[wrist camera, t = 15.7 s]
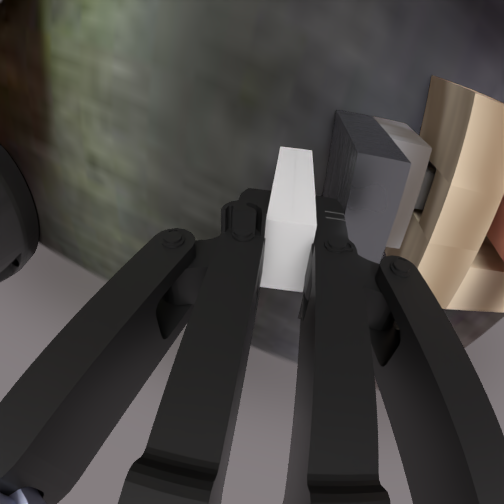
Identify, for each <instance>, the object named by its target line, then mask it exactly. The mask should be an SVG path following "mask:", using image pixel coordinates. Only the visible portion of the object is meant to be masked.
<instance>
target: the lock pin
mask: <svg viewBox="0 0 504 504" xmlns="http://www.w3.org/2000/svg"><path fill="white" fill-rule="evenodd" d="M410 167H411V162H410V161H409V160H408V158H407V157H406V156H405V154H404V153H403V152H402V151H401V149H400V148H399V147H398V146H397V145H396V143H395V142H394V141H393V140H392V139H391V137H390V136H389V135H388V134H387V133H386V131H385V130H384V129H383V128H382V127H381V126H380V125H379V123H378V122H377V121H376V120H375V119H374V118H373V117H372V116H368V115H363V114H357V113H352V112H346V111H340V110H336V116H335V123H334V129H333V136H332V142H331V149H330V155H329V161H328V167H327V173H326V179H325V185H324V190H323V196H322V197H328V198H335V199H337V200H338V201H339V202H340V204H341V205H342V206H343V211H344V216H345V221H346V226H347V232H348V238H349V240H350V241H351V242H352V243H354V244H355V247H356V249H357V253H358V255H360V256H361V257H363V258H365V259H367V260H370V261H373V262H375V263H378V264H379V263H380V261H381V258H382V255H383V252H384V250H385V247H386V244H387V241H388V238H389V235H390V232H391V229H392V226H393V223H394V220H395V217H396V214H397V211H398V208H399V205H400V201H401V198H402V195H403V192H404V188H405V185H406V181H407V178H408V174H409V171H410ZM436 169H437V168H436V167H435V166H434V165H433V164H432V163H431V162H430V161H429V162H428V165H427V169H426V172H425V176H424V179H423V182H422V186H421V189H420V192H419V195H418V198H417V201H416V204H415V207H414V208H415V209H420V210H423V209H424V207H425V204H426V201H427V198H428V195H429V192H430V189H431V186H432V182H433V179H434V176H435V173H436Z"/></svg>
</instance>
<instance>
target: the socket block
mask: <svg viewBox="0 0 504 504" xmlns="http://www.w3.org/2000/svg"><path fill="white" fill-rule="evenodd" d="M372 117H373V118H374V119H375V120H376V121H377V122H378V123H379V125H380V126H381V127H382V128H383V129H384V130H385V131H386V133H387V134H388V135H389V136H390V137H391V139H392V140H393V141H394V142H395V143H396V145H397V146H398V147H399V148H400V149H401V151H402V152H403V153H404V154H405V156H406V157H407V158H408V160H409V161H410V162H411V167H410V171H409V174H408V178H407V181H406V185H405V188H404V192H403V195H402V198H401V201H400V205H399V208H398V211H397V214H396V217H395V220H394V223H393V226H392V229H391V232H390V235H389V238H388V241H387V244H386V249H385V254H386V256H391V255H393V256H400V257H402V258H405V259H407V260H409V261H410V262H412V263H413V264H414V265H415V266H416V267H417V269H418V270H419V272H420V273H421V275H422V276H423V278H424V280H425V281H426V283H427V284H428V286H429V288H430V289H431V291H432V292H433V294H434V296H435V297H436V299H437V301H438V302H439V304H440V306H441V307H442V309H455V310H470V311H487V312H504V262H503V260H502V258H501V257H500V255H499V254H498V252H497V251H496V249H495V247H494V246H493V244H492V243H491V241H490V240H489V238H488V237H487V235H486V234H487V232H488V230H489V228H490V226H491V223H492V221H493V219H494V216H495V214H496V212H497V209H498V207H499V205H500V202H501V200H502V197H503V195H504V103H502V102H500V101H498V100H495V99H493V98H491V97H489V96H486V95H484V94H482V93H479V92H477V91H474V90H472V89H469V88H467V87H464V86H461V85H459V84H456V83H453V82H451V81H448V80H445V79H442V78H439V77H436V76H433V75H432V76H431V82H430V87H429V93H428V98H427V103H426V108H425V113H424V117H423V122H422V126H421V131H420V135H418V134H417V133H416V132H414V131H413V130H412V129H411V128H410V127H409V126H408V125H407V124H406V123H401V122H397V121H393V120H388V119H384V118H379V117H374V116H372ZM429 161H430V162H431V163H432V164H433V165H434V166H435V167H436V168H437V169H436V173H435V176H434V179H433V182H432V186H431V189H430V192H429V195H428V198H427V201H426V204H425V207H424V209H423V210H420V209H415V208H414V207H415V204H416V201H417V198H418V195H419V192H420V189H421V186H422V182H423V179H424V176H425V172H426V169H427V165H428V162H429Z"/></svg>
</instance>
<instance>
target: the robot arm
mask: <svg viewBox="0 0 504 504" xmlns="http://www.w3.org/2000/svg"><path fill="white" fill-rule="evenodd" d="M38 240H39V226H38V219H37V214H36V210H35V206H34V203H33V200H32V197H31V194H30V192H29V189H28V187H27V185H26V182H25V180H24V178H23V176H22V174H21V173H20V171H19V169H18V167H17V166H16V164H15V163H14V161H13V160H12V158H11V157H10V155H9V154H8V153H7V152H6V150H5V149H4V148H3V147H2V146H1V145H0V282H2V281H3V280H5V279H7V278H8V277H10V276H12V275H13V274H15V273H16V272H18V271H19V270H20V269H22V267H23V266H24V265H25V264H26V263H27V261H28V260H29V259H30V258H31V257H32V256H33V254H34V253H35V251H36V249H37V245H38ZM260 287H265V288H273V289H281V290H288V291H296V292H303V289H304V295H303V299H302V304H301V308H300V312H299V316H298V318H299V319H301V323H300V340H299V355H298V369H297V382H296V395H295V406H294V418H293V427H292V438H291V447H290V456H289V464H288V473H287V481H286V489H285V496H284V501H283V504H390V498H389V495H388V492H387V491H386V490H385V489H384V488H383V487H382V486H381V484H380V481H379V474H378V425H377V406H376V391H375V379H374V375H375V378H376V381H377V384H378V387H379V390H380V393H381V395H382V399H383V402H384V405H385V408H386V411H387V414H388V417H389V420H390V423H391V427H392V430H393V433H394V436H395V440H396V443H397V446H398V450H399V453H400V456H401V460H402V463H403V467H404V471H405V474H406V478H407V481H408V485H409V489H410V493H411V497H412V501H413V504H504V436H503V433H502V430H501V428H500V425H499V423H498V420H497V418H496V415H495V413H494V410H493V408H492V406H491V403H490V401H489V399H488V397H487V394H486V392H485V390H484V388H483V385H482V383H481V381H480V379H479V377H478V375H477V373H476V371H475V369H474V367H473V365H472V363H471V361H470V359H469V357H468V355H467V353H466V351H465V349H464V347H463V345H462V343H461V341H460V339H459V338H458V336H457V334H456V332H455V330H454V328H453V327H452V325H451V323H450V321H449V320H448V318H447V316H446V314H445V313H444V311H443V309H442V307H441V306H440V304H439V302H438V301H437V299H436V297H435V296H434V294H433V292H432V291H431V289H430V288H429V286H428V284H427V283H426V281H425V280H424V278H423V276H422V275H421V273H420V272H419V270H418V269H417V267H416V266H415V265H414V264H413V263H412V262H410V261H409V260H407V259H405V258H402V257H400V256H393V255H391V256H386V257H384V258H383V259H382V260H381V262H380V264H378V263H375V262H373V261H370V260H367V259H365V258H363V257H361V256H360V255H358V253H357V249H356V247H355V244H354V243H352V242H351V241H350V240H349V238H348V232H347V226H346V221H345V216H344V211H343V206H342V205H341V204H340V202H339V201H338V200H337V199H335V198H328V197H321V196H315V184H314V170H313V157H312V150H304V149H297V148H289V147H280V152H279V157H278V162H277V167H276V172H275V177H274V182H273V187H272V191H268V190H260V189H251V188H248V189H247V190H245V191H244V192H243V193H241V195H240V198H239V200H237V201H232V202H229V203H227V204H225V205H224V206H223V207H222V209H221V234H220V236H219V237H216V238H213V239H208V240H198V241H195V237H194V235H193V234H192V233H191V232H189V231H187V230H185V229H178V228H174V229H168V230H164V231H161V232H160V233H158V234H157V235H155V236H154V237H153V238H152V239H151V240H150V241H149V242H148V243H147V244H146V245H145V246H144V247H143V248H142V249H141V250H139V251H138V252H137V253H136V254H135V255H134V256H133V257H132V258H131V259H130V260H129V261H128V262H127V263H126V264H125V265H124V266H123V267H122V268H121V269H120V270H119V271H118V272H117V273H116V274H115V275H114V276H113V277H112V278H111V279H110V280H109V281H108V282H107V283H106V284H105V285H104V286H103V287H102V288H101V289H100V290H99V291H98V292H97V293H96V294H95V295H94V296H93V297H92V298H91V299H90V300H89V301H88V302H87V303H86V304H85V306H84V307H83V308H82V309H81V310H80V311H79V312H78V313H77V314H76V315H75V316H74V317H73V318H72V319H71V320H70V322H69V323H68V324H67V325H66V326H65V327H64V328H63V329H62V330H61V331H60V333H58V335H57V336H56V337H55V338H54V339H53V340H52V341H51V342H50V344H49V345H48V346H47V347H46V348H45V349H44V350H43V352H42V353H41V354H40V355H39V356H38V357H37V359H36V360H35V361H34V362H33V363H32V364H31V365H30V367H29V368H28V369H27V370H26V371H25V373H24V374H23V375H22V376H21V377H20V379H19V380H18V381H17V382H16V383H15V385H14V386H13V387H12V388H11V390H10V391H9V392H8V393H7V395H6V396H5V397H4V398H3V400H2V401H1V402H0V504H57V503H58V502H59V501H60V500H61V499H63V498H64V497H65V495H67V494H68V493H69V492H70V490H71V489H72V488H73V486H74V485H75V484H76V482H77V481H78V480H79V479H80V477H81V476H82V474H83V473H84V471H85V470H86V468H87V467H88V465H89V464H90V462H91V461H92V459H93V458H94V456H95V455H96V454H97V452H98V451H99V449H100V447H101V446H102V445H103V443H104V442H105V440H106V439H107V437H108V436H109V434H110V433H111V432H112V430H113V429H114V427H115V426H116V424H117V423H118V421H119V420H120V419H121V417H122V416H123V414H124V413H125V411H126V410H127V408H128V407H129V405H130V404H131V403H132V401H133V400H134V398H135V397H136V395H137V394H138V392H139V391H140V390H141V388H142V387H143V385H144V384H145V382H146V381H147V380H148V378H149V377H150V375H151V374H152V372H153V371H154V370H155V368H156V367H157V365H158V364H159V362H160V361H161V360H162V358H163V357H164V355H165V354H166V352H167V351H168V350H169V348H170V347H171V345H172V344H173V342H174V341H175V339H176V338H177V337H178V335H179V334H180V332H181V331H182V330H183V328H184V327H185V325H186V324H187V326H186V329H185V332H184V335H183V338H182V340H181V343H180V347H179V349H178V352H177V355H176V358H175V361H174V364H173V367H172V370H171V372H170V375H169V379H168V381H167V385H166V387H165V390H164V394H163V396H162V400H161V402H160V405H159V408H158V412H157V415H156V418H155V421H154V424H153V427H152V430H151V433H150V437H149V440H148V443H147V446H146V449H145V451H144V453H143V455H142V456H141V457H140V458H139V459H138V460H136V461H135V462H134V463H133V465H132V466H131V468H130V469H129V471H128V474H127V476H126V479H125V482H124V485H123V488H122V492H121V495H120V498H119V502H118V504H221V500H222V492H223V487H224V481H225V476H226V471H227V466H228V461H229V456H230V451H231V446H232V441H233V435H234V430H235V425H236V420H237V414H238V409H239V404H240V398H241V393H242V388H243V382H244V377H245V371H246V366H247V360H248V355H249V350H250V344H251V338H252V333H253V327H254V322H255V316H256V310H257V305H258V299H259V290H260Z"/></svg>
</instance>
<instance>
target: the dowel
mask: <svg viewBox="0 0 504 504" xmlns="http://www.w3.org/2000/svg"><path fill="white" fill-rule="evenodd" d="M486 235H487V237H488V238H489V240H490V241H491V243H492V244H493V246H494V247H495V249H496V251H497V252H498V254H499V255H500V257H501V258H502V260H503V262H504V195H503V197H502V200H501V202H500V205H499V207H498V209H497V212H496V214H495V216H494V219H493V221H492V223H491V226H490V228H489V230H488V232H487V234H486Z"/></svg>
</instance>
